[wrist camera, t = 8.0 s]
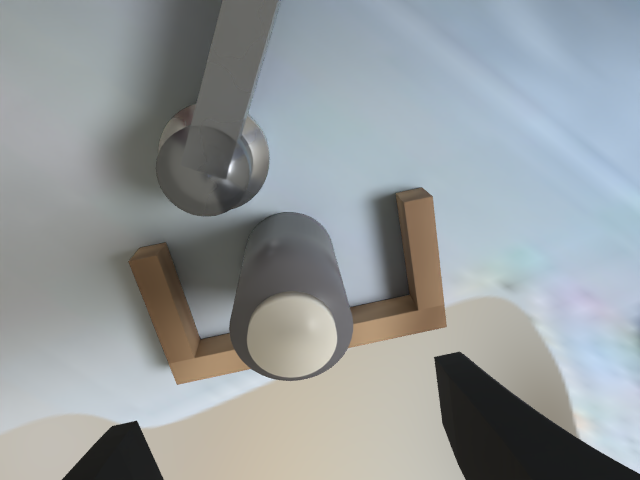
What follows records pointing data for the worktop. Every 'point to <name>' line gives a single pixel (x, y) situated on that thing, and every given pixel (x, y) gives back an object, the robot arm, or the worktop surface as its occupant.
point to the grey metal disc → (250, 133)
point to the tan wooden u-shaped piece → (368, 320)
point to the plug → (290, 300)
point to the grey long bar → (220, 115)
